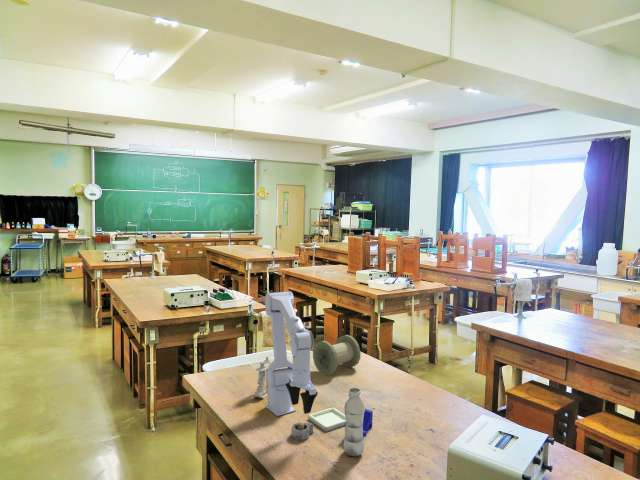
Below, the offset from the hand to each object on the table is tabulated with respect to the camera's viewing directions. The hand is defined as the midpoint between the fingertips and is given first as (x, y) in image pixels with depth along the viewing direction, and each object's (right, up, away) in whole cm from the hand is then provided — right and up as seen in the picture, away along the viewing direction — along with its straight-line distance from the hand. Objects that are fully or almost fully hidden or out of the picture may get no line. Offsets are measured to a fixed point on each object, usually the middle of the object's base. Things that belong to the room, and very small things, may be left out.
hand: (301, 408), depth 146 cm
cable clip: (+20, -10, +3) cm, 22 cm away
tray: (+10, -9, +11) cm, 17 cm away
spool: (+14, -6, +61) cm, 63 cm away
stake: (0, -9, +1) cm, 9 cm away
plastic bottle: (+17, -10, -10) cm, 22 cm away
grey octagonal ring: (0, -9, +1) cm, 9 cm away
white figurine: (-17, -7, +31) cm, 36 cm away
